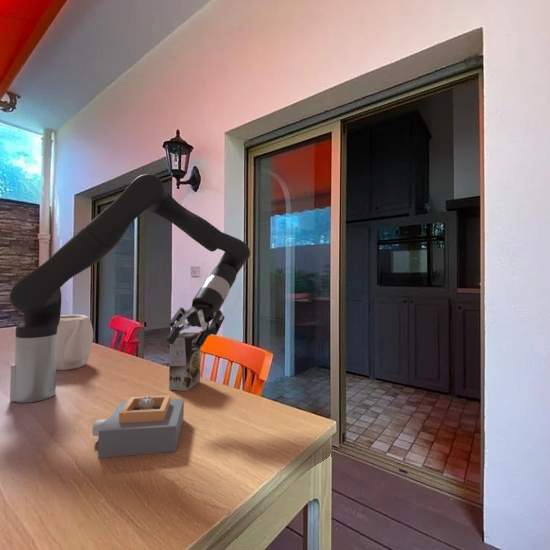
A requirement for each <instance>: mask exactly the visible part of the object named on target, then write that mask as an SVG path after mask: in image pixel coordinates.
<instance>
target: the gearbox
mask: <svg viewBox="0 0 550 550" xmlns="http://www.w3.org/2000/svg"><path fill="white" fill-rule="evenodd" d="M148 396H149V395H146V396H143V395H142V396H131V397H130V398H129V399H128V400H126V401H120V402H119V404H118V405H117V407H116V408H115V409H114V411H112V413H111V415H110V416H109V417H108V418H104V419H95V421H94V423H93V426H92V435H93V437H98V439H97V440H98V441H97V442H98V443H97V444H98V447H97V449H98V450H97V453H98V454H97V459H98V458H99V459H102V458H113V457H125V456H135V455H136V456H139V455H150V454H162V453H163V454H164V453H176V450H177V448H178V443H179V439H180V435H181V431H182V426H183V423H184V414H185V411H184V409H185V408H184V407H185V405H184V404H185V399H184V398H172V399H171V395H170V394H168V395H167V394H166V395H165V394H164V395H163V394H162V395H150V396H151V397H153V400H154V401H155V403H154V404H153V406H152V408H153V409H151V410H140V409H141V407H140V406H139V405H138V404H139V402H140V400H141V398H143V399H144V397H146V399H147V398H148Z"/></svg>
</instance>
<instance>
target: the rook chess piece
mask: <svg viewBox="0 0 550 550" xmlns="http://www.w3.org/2000/svg"><path fill="white" fill-rule="evenodd" d="M147 396H148V398H147V399H146V397H144V399H143V398H141V400H140V402H139V404H138V405H139V406H140V407H141V409H140V410H151V409H153V408H152V406H153V404H154V403H155V401H154V400H153V397H151V396H152V395H147Z"/></svg>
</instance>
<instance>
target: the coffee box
mask: <svg viewBox="0 0 550 550" xmlns="http://www.w3.org/2000/svg"><path fill="white" fill-rule="evenodd" d="M198 334H199V332H180V334H179V336H178V337H177V339H176V340H175V342H174V344H169V369H168V370H169V371H168V372H169V375H168V376H169V377H168V390H172V391H173V390H174V391H181V392H188V391H189V390H191V389H192V388H194V387H195V386H196V385H198V384H199V383H200V382H201V359H202V358H201V354H202V353H201V352H202V350H201V348H202V346H201V347H200V348H196V347H195V346H194V344H193V343H194V341H195V339H196V337H197V336H198ZM197 383H198V384H197ZM193 386H194V387H193Z"/></svg>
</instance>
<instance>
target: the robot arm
mask: <svg viewBox="0 0 550 550" xmlns="http://www.w3.org/2000/svg"><path fill="white" fill-rule="evenodd" d="M145 211H150V212H151V213H154V214H156V216H157V215H158V216H160V217H161V218H163V219H165V220H167V221H168V222H170V223H172V224H173V225H175V226H176V227H177V228H178V229H180V230H181V231H182V232H184V233H185V234H186V235H187V236H189V237H190V238H191V239H192V240H194V241H195V242H196V243H197V244H199V245H201V246H202V247H203V248H205V249H206V250H207V251H209V252H212V253H213V252H215V251H217V250H221V252H224V253H223V254H222V256H221V258H220V260H219V262H218V264H217V265H216V266H215V267H214V269H212V272H211V273H210V274H209V276H208V277H207V279H206V280H205V281H204V282H203V284H202V285H201V287H200V288H199V290H198V292H197V293H196V295H194V297H193V299H192V301H191V302H192V303H191V306H190V308H188V309H184V307H181V306H180V307H179V309H178V310H177V311H176V313H175V314H174V315H173V316H172V318H171V319H170V321H168V326H170V328H171V330H170V332H169V333H168V335H167V336H166V342H167V343H168V344H169V345H170V344H174V342H175V340H176V339H177V337H178V336H179V334H181V333H182V332H183V331H184V330H189V329H190V328H191V327H193V328H194V327H198V328H201V330H199V332H198V333H199V334H198V336H197V337H196V339H195V341H194V343H193V344H194V346H195V347H196V348H200V347H201V348H202V346H203V345H204V343H205V342H206V340H207V338H208V337H210V336H211V335H213V336H217V334H218V333H219V331H220V328H221V326H222V324H223V322H224V320H225V315H224V313H223V312H222V311H221V308H222V306H223V305H224V303H225V301H226V299H227V297H228V295H229V292H230V290H231V288H232V287H233V285H234V283H235V281H236V279H237V275H238V274H239V272H240V271H241V269H242V267H243V266H244V265H245V264H246V263H247V261H248V259H249V258H250V256H251V250H250V248H249V246H248V245H247V243H245V242H244V241H243V240H241V239H239V238H237V237H235V236H232V235H230V234H228V233H225V232H223V231H221V230H220V229H218V228H217V227H216V226H214V225H213V224H212V223H210V222H209V221H208V220H206V219H205V218H203V217H202V216H199V215H198V214H196V213H194V212H192V211H191V210H189V209H187V208H186V207H185V206H183V205H182V204H181V203H179V202H178V201H177V200H176V199H175V198H174V197H173V196H172V195H171V194H170V193H169V192H168V190H167V189H166V187H165V184H164V183H163V182H162V180H161V179H160V178H159V177H158V176H157V175H155V174H152V173H150V174H149V173H144V174H141V175H139V176H138V177H136V178H135V179H134V180H132V181H131V183H130V184H129V185H128V186H127V187H126V188H125V189H124V191H123V192H122V193H121V194H119V196H118V197H117V198H116V199H115V200H114V201H113V202H112V203H111V204H110V205H108V206H107V207H105V209H104V210H102V211H101V212H100V213H99V214H98V215H97V216H96V217H94V218H93V219H92V220H90V222H88V223H87V224H86V225H85V226H83V227H82V228H81V229H80V230H78V232H76V233H75V234H73V236H72V237H71V238H70V239H69V240H68V241H67V242H66V243H65V244H63V245H62V246H61V247H60V248H59V249H58V250H57V251H56V252H55V253H54V254H52V256H51V257H50V258H49V259H47V260H46V261H45V262H44V263H43V264H41V265H40V266H38V267H37V268H36V269H34V270H32V271H31V272H30V273H29V274H27V275H25V276H23V278H20V280H19V281H17V282H16V283H15V284H14V285H13V286H12V288H11V291H10V294H9V302H10V303H11V305H12V306H13V308H15V309H17V310H18V311H22V312H23V316H22V320H21V321H20V322H19V323H18V325H17V326H16V327H15V339H14V342H15V343H14V352H15V353H14V364H12V365H11V366H10V382H9V383H10V385H9V387H10V388H9V389H10V391H9V402H16V403H19V404H23V403H33V402H35V403H36V402H39V401H40V402H41V401H44V400H47V399H49V398H52V397H54V396H55V395H56V393H57V392H56V389H57V383H56V382H57V370H56V351H57V327H58V325H59V322H60V315H62V314H61V312H62V311H61V310H62V290H61V287H63V286H64V285H65V284H66V282H68V281H69V280H70V279H72V278H73V277H75V276H76V275H78V274H80V273H82V272H83V271H85V270H87V269H88V268H90V267H92V266H94V265H95V264H97V263H98V262H99V261H100V260H102V259H103V258H104V257H106V255H107V254H108V253H110V252H111V251H112V250H113V249H114V248H115V247H116V246H117V245H118V244H119V242H120V241H121V240H122V238H123V236H124V235H125V233H126V232H127V230H128V228H129V226H130V225H131V224H132V223H133V222H134V220H136V219H137V218H138V217H139V216H140V215H141V214H142V213H144V212H145ZM186 321H187V322H186ZM210 322H211V323H210Z"/></svg>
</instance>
